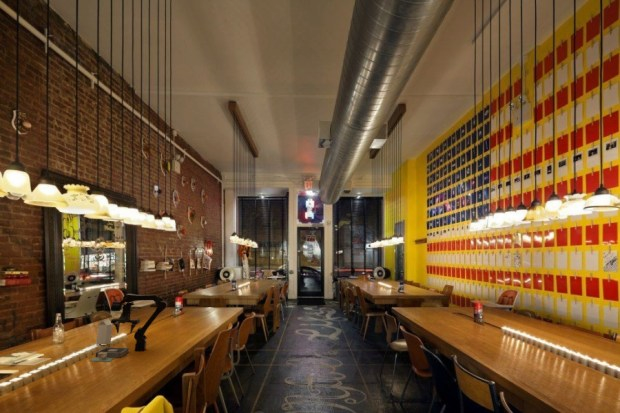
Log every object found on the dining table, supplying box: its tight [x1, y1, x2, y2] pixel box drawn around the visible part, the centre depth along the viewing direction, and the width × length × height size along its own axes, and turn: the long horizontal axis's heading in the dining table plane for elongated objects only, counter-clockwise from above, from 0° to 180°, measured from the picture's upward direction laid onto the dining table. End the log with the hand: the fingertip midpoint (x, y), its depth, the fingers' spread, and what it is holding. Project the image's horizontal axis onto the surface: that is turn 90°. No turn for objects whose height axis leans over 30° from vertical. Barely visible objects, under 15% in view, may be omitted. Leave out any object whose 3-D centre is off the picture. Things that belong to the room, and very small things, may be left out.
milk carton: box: [95, 317, 114, 345], centre depth 293 cm, size 7×7×19 cm
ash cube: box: [97, 352, 108, 360], centre depth 255 cm, size 4×4×4 cm
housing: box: [95, 346, 130, 359], centre depth 268 cm, size 16×14×3 cm
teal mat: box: [89, 356, 114, 363], centre depth 255 cm, size 12×7×1 cm, turn 93°
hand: (124, 333), depth 281 cm, fingers open, 9 cm apart
